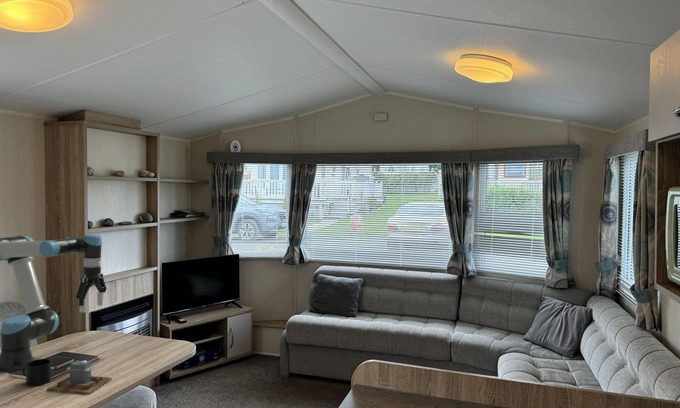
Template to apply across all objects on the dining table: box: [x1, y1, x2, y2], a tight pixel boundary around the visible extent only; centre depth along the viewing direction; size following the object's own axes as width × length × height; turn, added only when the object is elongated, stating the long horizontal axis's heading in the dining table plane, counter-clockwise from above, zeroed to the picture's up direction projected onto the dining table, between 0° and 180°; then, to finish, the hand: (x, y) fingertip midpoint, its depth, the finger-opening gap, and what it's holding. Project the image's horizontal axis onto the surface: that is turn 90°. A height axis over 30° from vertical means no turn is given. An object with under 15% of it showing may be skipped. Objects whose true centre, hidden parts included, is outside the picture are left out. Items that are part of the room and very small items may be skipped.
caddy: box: [46, 374, 112, 395], centre depth 213 cm, size 20×16×2 cm
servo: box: [66, 360, 95, 384], centre depth 213 cm, size 10×4×10 cm, turn 84°
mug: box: [21, 358, 52, 387], centre depth 215 cm, size 9×12×9 cm
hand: (91, 308), depth 235 cm, fingers open, 13 cm apart
